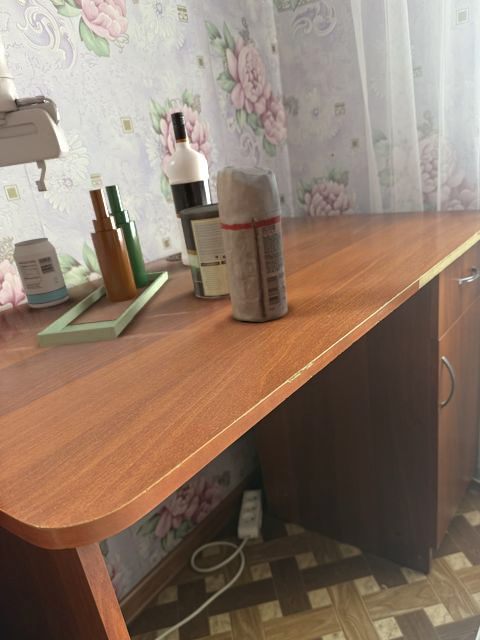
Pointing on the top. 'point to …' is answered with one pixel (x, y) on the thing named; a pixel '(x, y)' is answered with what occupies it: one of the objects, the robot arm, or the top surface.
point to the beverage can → (40, 273)
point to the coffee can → (205, 250)
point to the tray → (100, 329)
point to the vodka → (186, 176)
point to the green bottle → (128, 236)
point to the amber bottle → (111, 252)
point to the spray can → (252, 242)
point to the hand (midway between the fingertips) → (18, 195)
